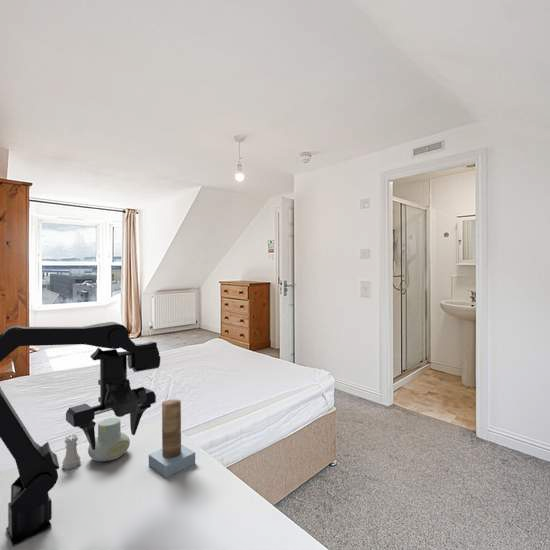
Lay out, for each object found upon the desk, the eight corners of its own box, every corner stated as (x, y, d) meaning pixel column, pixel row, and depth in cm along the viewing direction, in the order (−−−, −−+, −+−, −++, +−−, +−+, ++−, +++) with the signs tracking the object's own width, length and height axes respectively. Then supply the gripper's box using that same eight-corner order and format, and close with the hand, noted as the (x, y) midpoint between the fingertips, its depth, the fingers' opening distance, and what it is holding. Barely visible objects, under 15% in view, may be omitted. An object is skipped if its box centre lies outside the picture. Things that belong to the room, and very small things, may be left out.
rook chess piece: (84, 461, 94) (84, 433, 94) (73, 470, 90) (73, 440, 90) (69, 460, 95) (69, 432, 95) (57, 469, 90) (57, 440, 90)
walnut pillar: (174, 459, 89) (173, 406, 90) (158, 456, 91) (158, 404, 91) (184, 450, 94) (184, 400, 94) (169, 447, 95) (169, 398, 96)
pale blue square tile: (166, 477, 86) (165, 466, 86) (148, 465, 92) (148, 454, 92) (195, 463, 93) (195, 452, 93) (177, 452, 99) (177, 442, 99)
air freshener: (100, 469, 90) (99, 432, 90) (82, 461, 94) (82, 426, 95) (134, 451, 100) (134, 417, 100) (117, 444, 104) (117, 412, 104)
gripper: (83, 393, 67) (83, 471, 66) (167, 372, 81) (167, 437, 80) (64, 382, 74) (65, 453, 74) (144, 365, 88) (145, 424, 88)
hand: (114, 441), depth 79 cm, fingers open, 9 cm apart
